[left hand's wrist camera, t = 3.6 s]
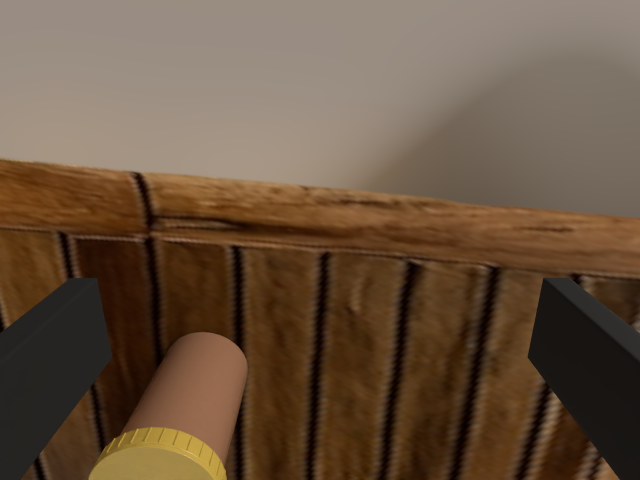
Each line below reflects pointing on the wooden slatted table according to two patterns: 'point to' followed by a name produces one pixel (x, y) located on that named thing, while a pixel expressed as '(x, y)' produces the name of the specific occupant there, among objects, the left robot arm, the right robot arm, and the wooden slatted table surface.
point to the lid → (157, 457)
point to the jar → (196, 391)
